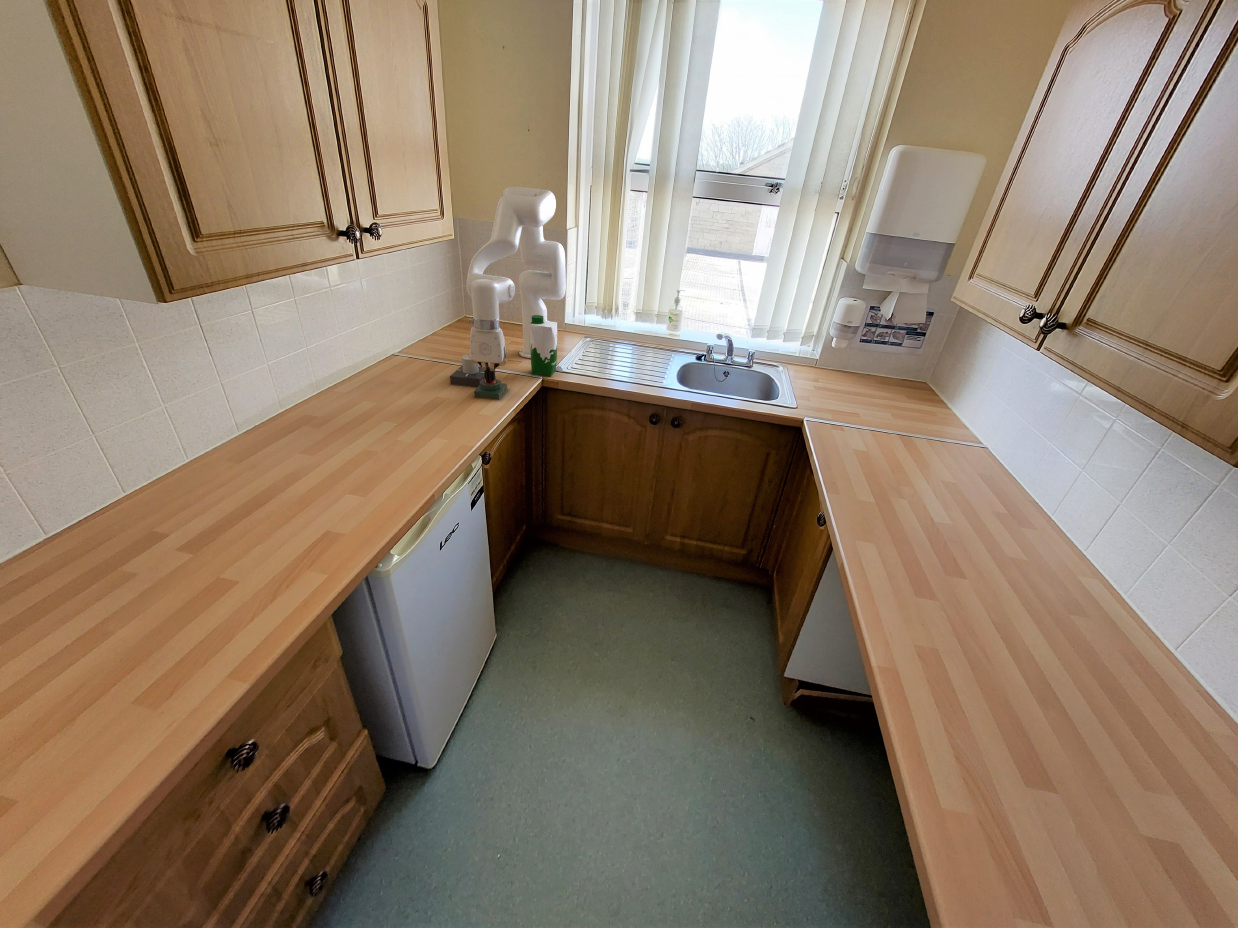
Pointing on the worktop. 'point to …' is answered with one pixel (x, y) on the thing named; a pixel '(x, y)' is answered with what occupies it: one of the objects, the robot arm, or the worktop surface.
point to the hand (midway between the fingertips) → (490, 381)
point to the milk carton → (543, 346)
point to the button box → (490, 390)
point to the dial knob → (469, 365)
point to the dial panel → (467, 378)
